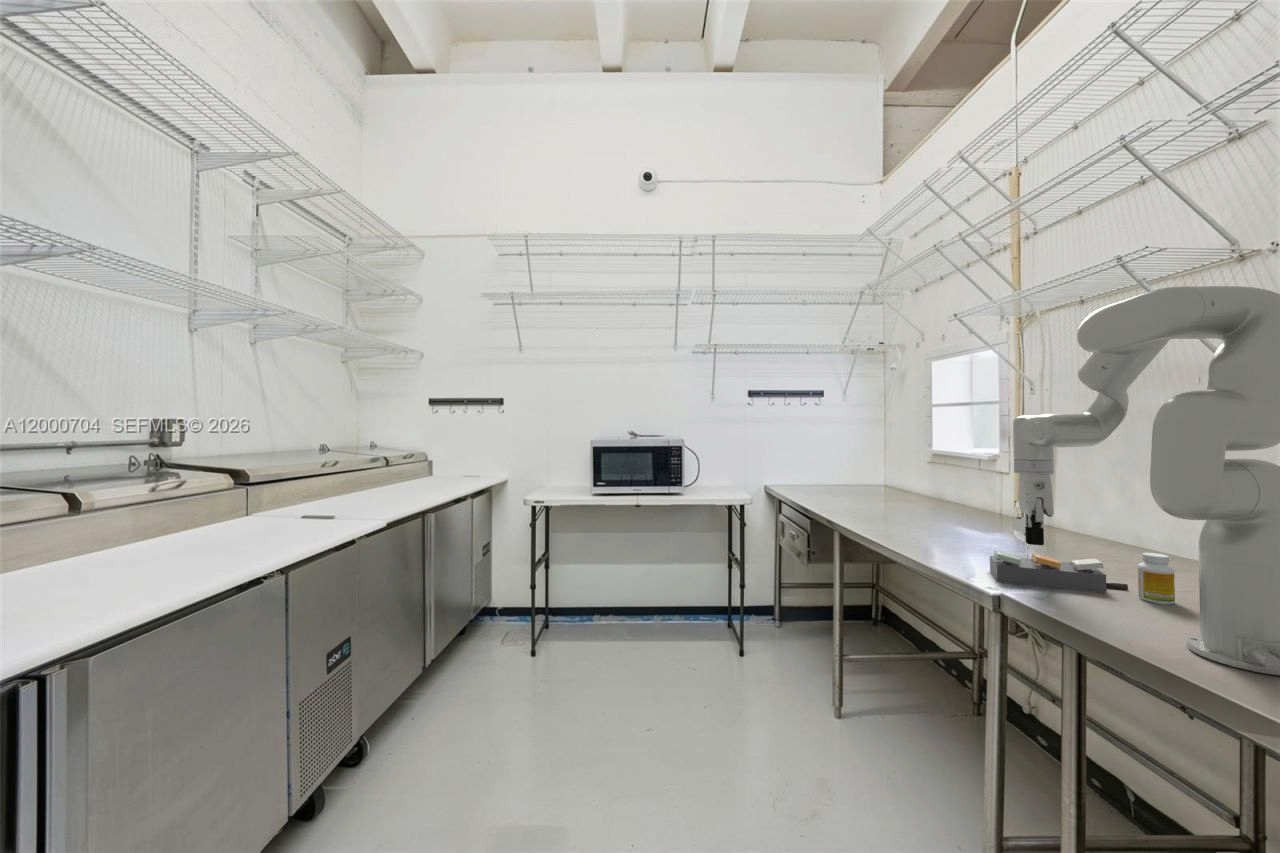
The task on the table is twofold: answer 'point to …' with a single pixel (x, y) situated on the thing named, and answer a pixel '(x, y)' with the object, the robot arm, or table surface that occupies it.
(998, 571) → the power strip
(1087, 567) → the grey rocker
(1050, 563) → the orange white-striped slab
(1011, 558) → the green rocker
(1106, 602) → the table surface
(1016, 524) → the wineglass
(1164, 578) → the supplement bottle
